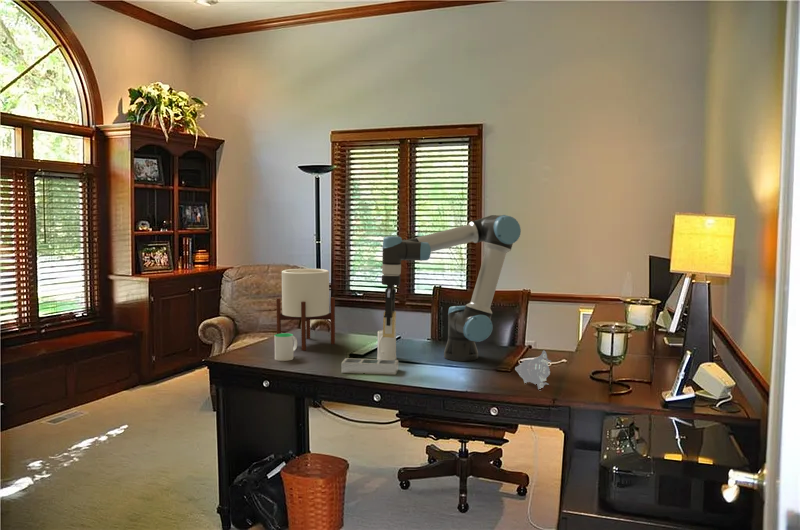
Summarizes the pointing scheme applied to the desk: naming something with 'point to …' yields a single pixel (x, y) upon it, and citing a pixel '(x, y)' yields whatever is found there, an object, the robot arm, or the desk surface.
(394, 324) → the brass block
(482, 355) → the desk surface
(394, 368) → the grey compartment tray
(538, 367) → the figurine
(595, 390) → the desk surface
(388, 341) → the mug
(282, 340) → the mug
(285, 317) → the plant pot with stand
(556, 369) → the desk surface
